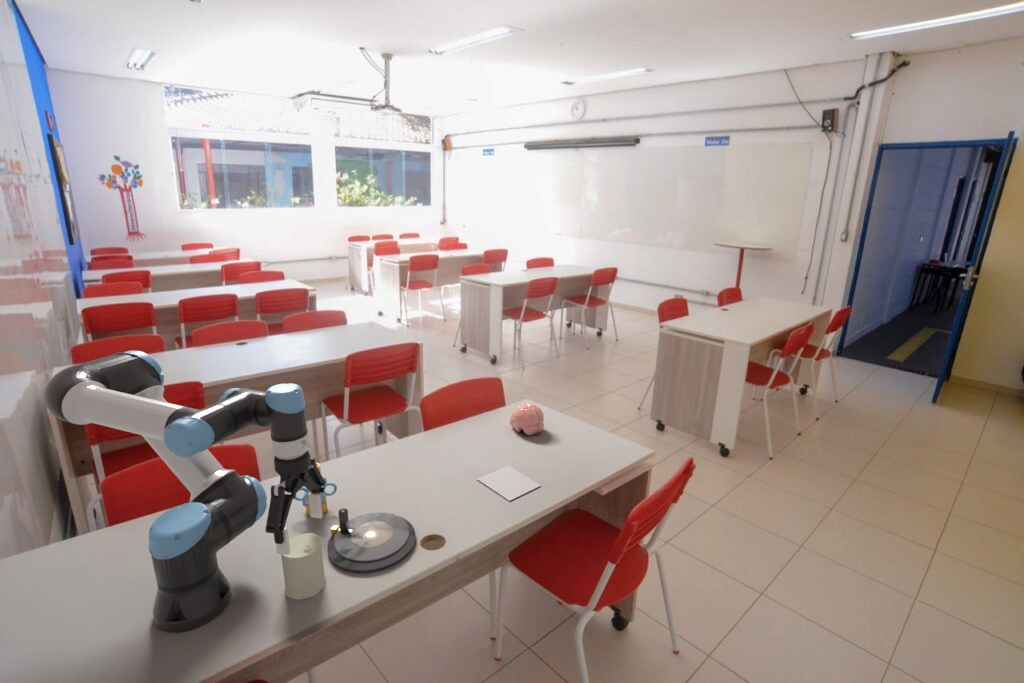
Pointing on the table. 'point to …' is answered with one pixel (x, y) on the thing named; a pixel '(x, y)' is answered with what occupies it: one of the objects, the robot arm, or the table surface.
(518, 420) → the brain
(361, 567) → the turntable base
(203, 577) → the robot arm
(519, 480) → the paper stack
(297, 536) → the can
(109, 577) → the table surface
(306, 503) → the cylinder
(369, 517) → the turntable
